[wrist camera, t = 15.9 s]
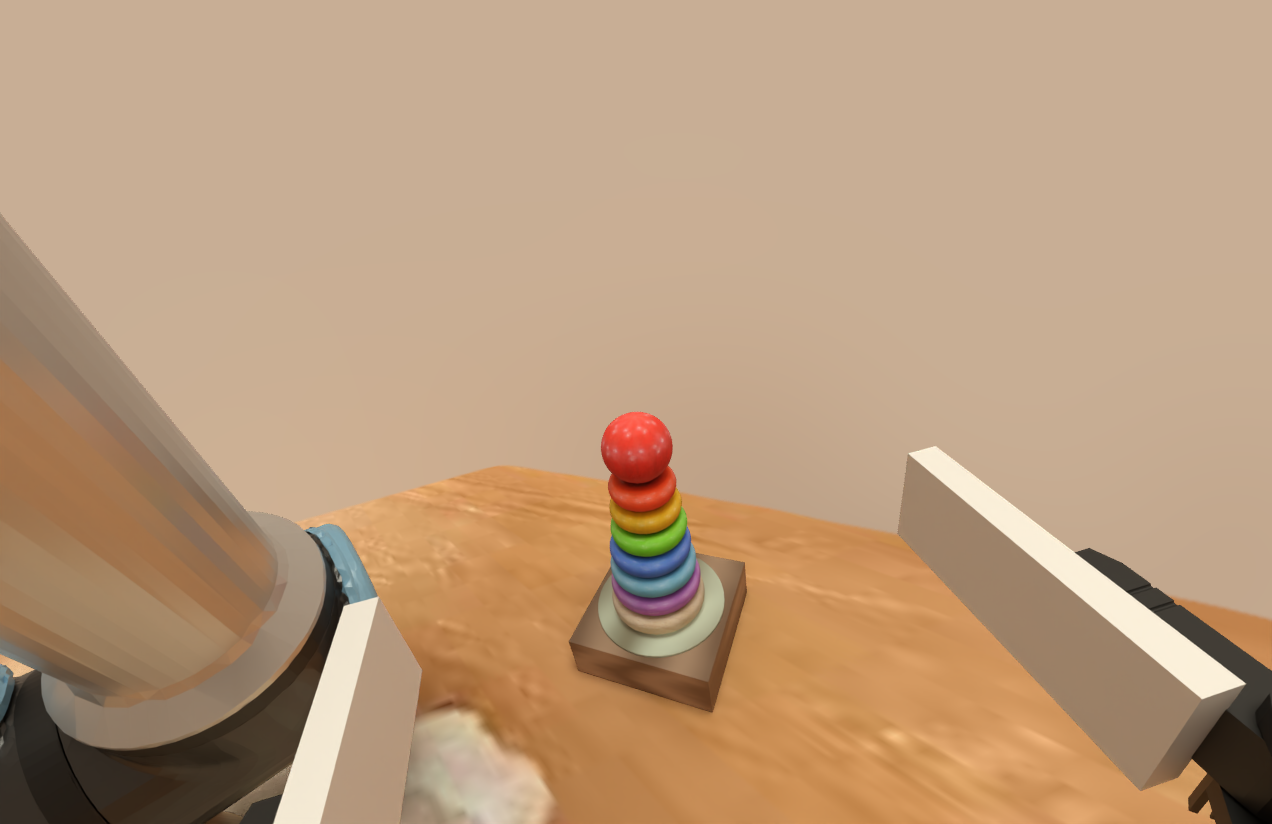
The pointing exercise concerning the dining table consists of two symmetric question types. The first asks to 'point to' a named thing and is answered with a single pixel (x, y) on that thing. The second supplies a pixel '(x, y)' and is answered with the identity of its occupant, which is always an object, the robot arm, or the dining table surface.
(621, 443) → the stacking toy
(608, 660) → the walnut plinth
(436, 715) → the dining table surface
